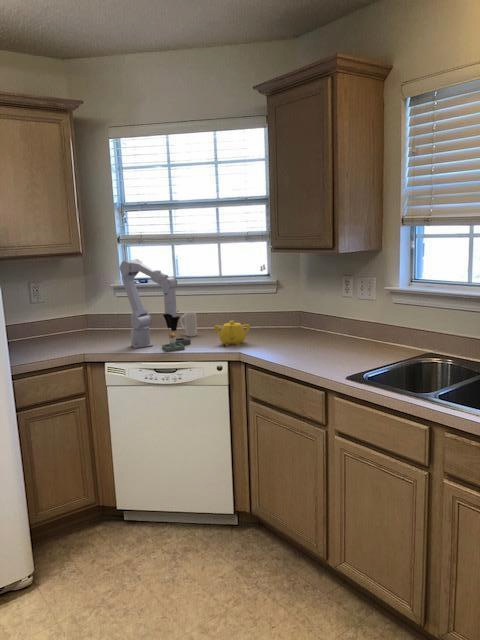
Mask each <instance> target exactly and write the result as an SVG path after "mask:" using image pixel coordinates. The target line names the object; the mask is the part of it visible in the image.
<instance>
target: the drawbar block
mask: <svg viewBox="0 0 480 640" xmlns="http://www.w3.org/2000/svg"><path fill="white" fill-rule="evenodd" d="M191 342H192V340H191V338H189V337H188V336H185V337H177V338H176V343H181V344H182V345H184V346H189V345H192V344H191Z"/></svg>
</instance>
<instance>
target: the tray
mask: <svg viewBox="0 0 480 640" xmlns="http://www.w3.org/2000/svg"><path fill="white" fill-rule="evenodd" d="M185 346H186V345H182V344H181V343H176V347H171V348H170V343H165V344H162V345H161V347H162V350H164V351H165V352H166V353H170V352H176V351H184V350H186V349H185V348H186V347H185Z"/></svg>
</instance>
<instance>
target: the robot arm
mask: <svg viewBox="0 0 480 640" xmlns="http://www.w3.org/2000/svg"><path fill="white" fill-rule="evenodd" d="M119 270H120V274H121V281H122V284H123V287H124V289H125V292H126V295H127V299H128V301H129V304H130V308H131V310H132V313H131V315H130V317H129V318H130V323H131V328H132V329H131V330H130V339H131V340H130V341H131V342H130V343H131V346H132V348H133V349H138V348H145V347H153V346H154V345H153V344H152V343H151V334H150V328H151V326H152V323H153V319H152V317H151V315H150V314H149V311H147V310H146V309H145V308H144V307H143V303H142V301H141V298H140V294H139V292H138V288H137V285H136V282H135V277H136V276H137V275H138V273H141V274H144V275H146V276H147V277H150V280H151V281H152V282H153V283H156V284H157V285H159V286H160V288H161V289H162V293H163V303H164V304H163V305H164V313H163V314H162V316H163V318H164V320H165V323H166V327H167V329H170V330H171V331H172V332H175V331H177V329H178V323H179V320H180V319H181V316H178V314H177V313H179V312H180V310H179V309H177V297H176V295H177V294H176V288H177V286H178V280H177V278H175V276H169V275H168V274H165V273H163V272H162V271H161V270H160V269H157V270H153V269H152V268H151V267H149V266H148V265H146V264H144V262H143V261H142V260H139V259H138V258H137V259H131V260H122V261H121V263H120V265H119Z"/></svg>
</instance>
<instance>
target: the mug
mask: <svg viewBox="0 0 480 640" xmlns="http://www.w3.org/2000/svg"><path fill="white" fill-rule="evenodd" d="M183 319H184V320H183ZM179 320H180V321H179V324H180V326H181V329H182V331H183V330H184V331H185V337H195V336H197V335H198V320H197V313H196V312H185V313H183V315H181V316H180V318H179ZM183 321H184V324H183Z"/></svg>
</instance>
